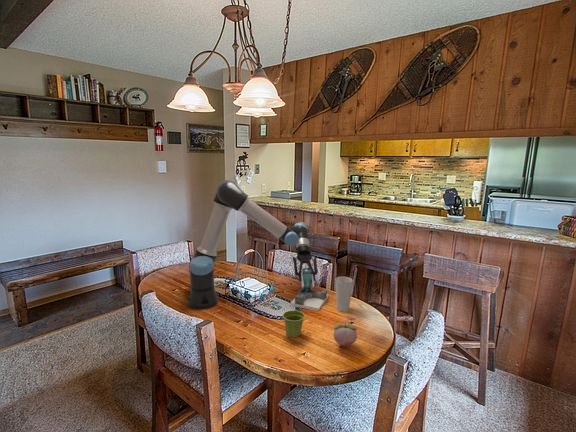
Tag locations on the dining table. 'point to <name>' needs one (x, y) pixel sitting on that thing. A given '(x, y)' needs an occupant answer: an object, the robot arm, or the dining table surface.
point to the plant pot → (293, 322)
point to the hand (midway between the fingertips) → (308, 286)
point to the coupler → (306, 279)
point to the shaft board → (310, 299)
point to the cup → (343, 293)
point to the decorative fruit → (345, 334)
